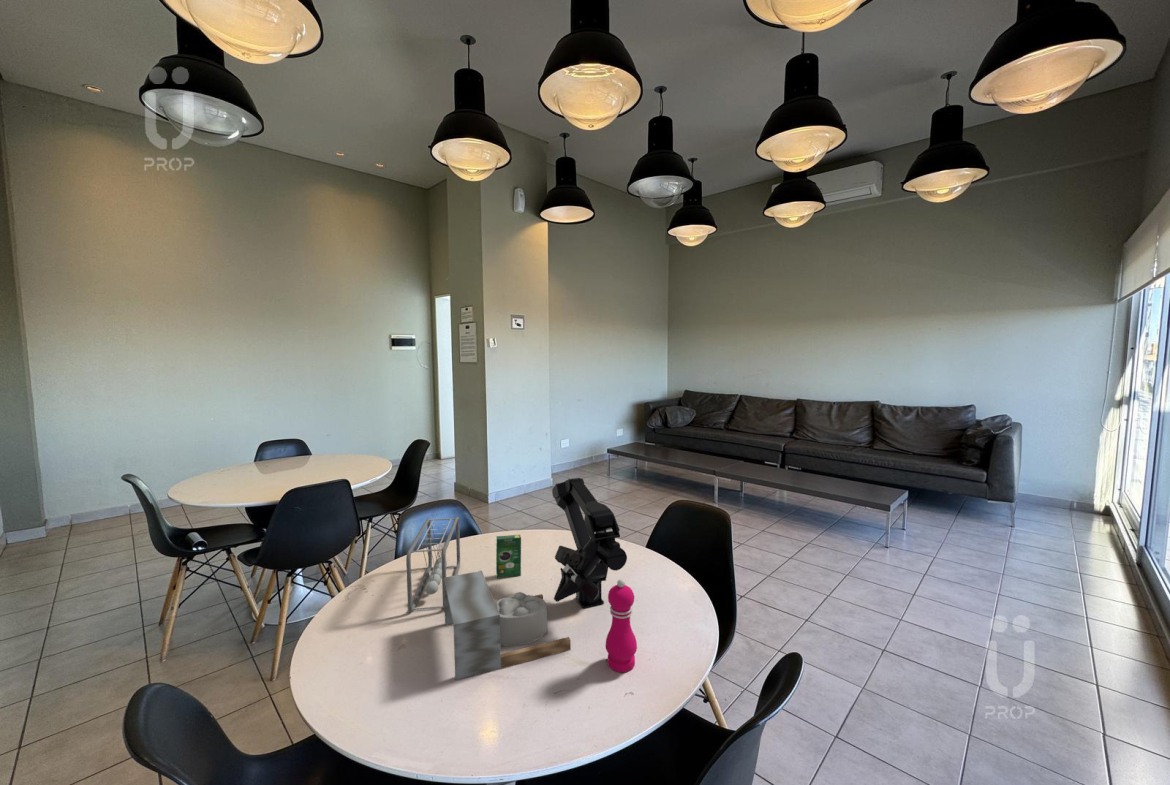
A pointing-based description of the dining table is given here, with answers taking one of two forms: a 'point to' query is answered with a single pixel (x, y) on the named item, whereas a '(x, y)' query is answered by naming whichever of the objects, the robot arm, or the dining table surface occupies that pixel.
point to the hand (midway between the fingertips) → (555, 600)
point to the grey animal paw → (521, 619)
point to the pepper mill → (621, 629)
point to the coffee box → (508, 556)
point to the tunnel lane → (483, 628)
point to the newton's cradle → (439, 565)
